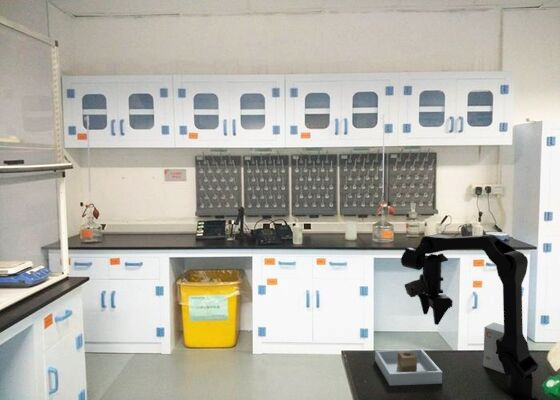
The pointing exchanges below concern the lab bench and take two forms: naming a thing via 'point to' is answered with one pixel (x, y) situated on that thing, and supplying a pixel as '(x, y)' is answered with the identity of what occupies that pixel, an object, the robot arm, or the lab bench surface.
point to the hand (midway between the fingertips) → (430, 319)
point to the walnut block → (407, 361)
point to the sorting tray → (394, 376)
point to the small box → (492, 346)
